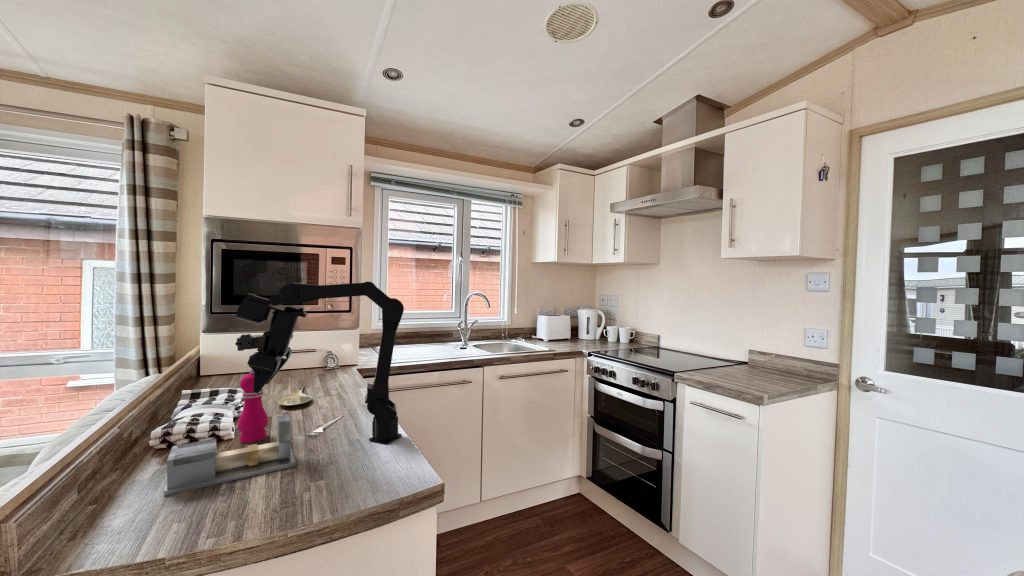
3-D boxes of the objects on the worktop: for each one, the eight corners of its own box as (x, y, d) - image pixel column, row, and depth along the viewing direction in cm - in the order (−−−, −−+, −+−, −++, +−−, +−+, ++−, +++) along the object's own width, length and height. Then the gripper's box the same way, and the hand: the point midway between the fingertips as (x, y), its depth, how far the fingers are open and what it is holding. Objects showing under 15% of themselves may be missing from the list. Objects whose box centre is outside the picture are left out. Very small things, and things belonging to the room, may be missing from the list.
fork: (348, 418, 133) (348, 412, 134) (313, 439, 114) (313, 433, 114) (339, 417, 134) (339, 412, 134) (302, 439, 114) (302, 432, 114)
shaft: (288, 450, 102) (288, 414, 102) (290, 457, 98) (290, 420, 98) (212, 466, 94) (212, 426, 93) (211, 474, 89) (211, 433, 89)
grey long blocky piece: (290, 451, 105) (290, 424, 105) (295, 466, 97) (295, 437, 96) (170, 476, 91) (169, 445, 91) (163, 496, 83) (163, 462, 83)
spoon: (287, 392, 169) (287, 387, 169) (315, 389, 173) (315, 384, 173) (274, 411, 137) (274, 405, 137) (309, 407, 141) (309, 401, 141)
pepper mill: (253, 444, 109) (253, 371, 109) (231, 442, 111) (230, 370, 110) (274, 435, 116) (273, 365, 116) (253, 433, 118) (252, 364, 118)
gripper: (256, 318, 111) (237, 373, 110) (234, 324, 94) (211, 390, 92) (300, 328, 115) (281, 382, 113) (286, 337, 97) (264, 400, 96)
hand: (260, 388), depth 104 cm, fingers open, 9 cm apart
